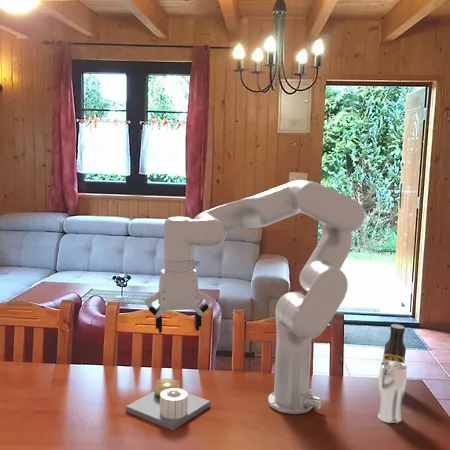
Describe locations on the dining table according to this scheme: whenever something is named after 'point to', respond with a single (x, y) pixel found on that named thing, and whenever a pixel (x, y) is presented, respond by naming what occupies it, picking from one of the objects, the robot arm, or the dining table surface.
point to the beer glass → (391, 390)
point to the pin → (173, 393)
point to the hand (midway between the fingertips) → (178, 330)
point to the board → (151, 410)
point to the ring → (173, 404)
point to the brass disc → (164, 386)
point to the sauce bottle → (395, 345)
